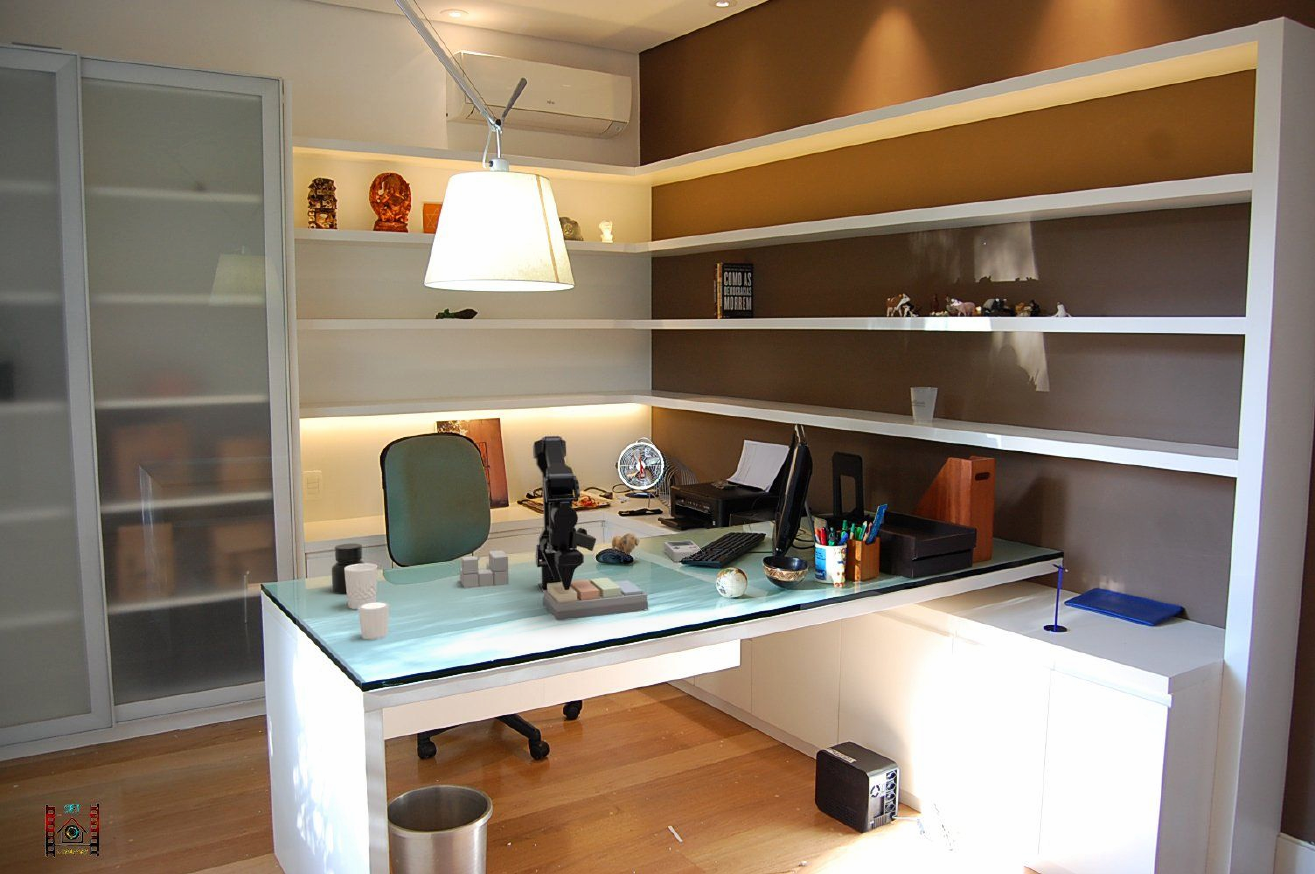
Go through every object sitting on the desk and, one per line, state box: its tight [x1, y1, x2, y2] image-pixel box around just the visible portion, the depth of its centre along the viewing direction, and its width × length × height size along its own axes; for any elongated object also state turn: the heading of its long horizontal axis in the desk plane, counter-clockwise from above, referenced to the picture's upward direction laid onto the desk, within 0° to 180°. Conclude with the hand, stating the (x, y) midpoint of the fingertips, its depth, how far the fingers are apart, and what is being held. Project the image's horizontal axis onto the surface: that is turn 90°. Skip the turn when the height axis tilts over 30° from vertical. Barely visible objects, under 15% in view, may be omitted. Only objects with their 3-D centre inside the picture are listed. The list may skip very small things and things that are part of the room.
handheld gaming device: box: [663, 540, 702, 563], centre depth 292 cm, size 9×15×4 cm, turn 12°
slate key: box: [613, 580, 644, 596], centre depth 241 cm, size 11×5×2 cm, turn 21°
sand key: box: [547, 582, 577, 603], centre depth 235 cm, size 11×5×2 cm, turn 21°
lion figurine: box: [611, 532, 641, 555], centre depth 288 cm, size 15×5×9 cm, turn 34°
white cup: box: [344, 562, 378, 610], centre depth 240 cm, size 8×8×10 cm
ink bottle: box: [331, 543, 365, 595], centre depth 255 cm, size 10×9×12 cm
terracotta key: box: [570, 579, 599, 601], centre depth 237 cm, size 11×5×2 cm, turn 21°
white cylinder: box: [357, 601, 390, 640], centre depth 217 cm, size 7×7×7 cm
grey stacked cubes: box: [459, 549, 510, 589], centre depth 264 cm, size 12×12×8 cm
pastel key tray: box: [542, 590, 649, 621], centre depth 238 cm, size 14×23×4 cm, turn 111°
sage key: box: [589, 577, 621, 598], centre depth 239 cm, size 11×5×2 cm, turn 21°
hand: (561, 585), depth 235 cm, fingers open, 9 cm apart
